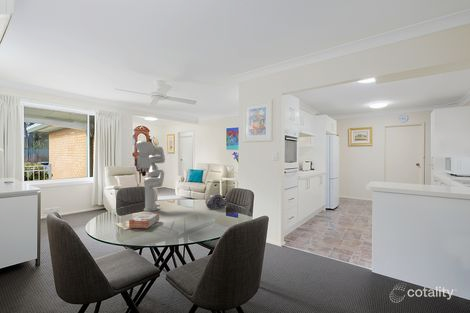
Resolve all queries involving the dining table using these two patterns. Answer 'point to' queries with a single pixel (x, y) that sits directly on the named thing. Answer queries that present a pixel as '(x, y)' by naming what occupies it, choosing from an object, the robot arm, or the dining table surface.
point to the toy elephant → (215, 201)
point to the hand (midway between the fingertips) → (143, 176)
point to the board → (123, 225)
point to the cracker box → (143, 220)
